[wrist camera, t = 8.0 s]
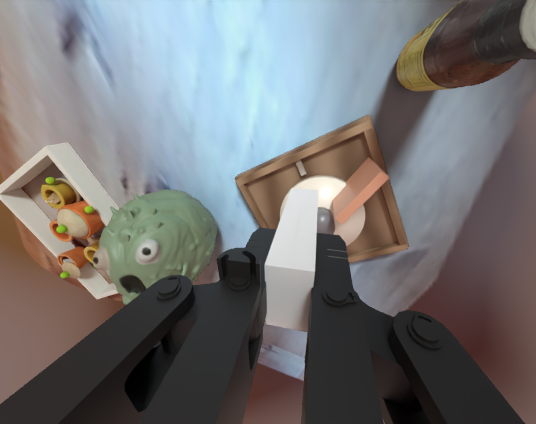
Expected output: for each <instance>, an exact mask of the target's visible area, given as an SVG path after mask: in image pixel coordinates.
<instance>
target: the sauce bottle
mask: <svg viewBox="0 0 536 424" xmlns="http://www.w3.org/2000/svg"><path fill="white" fill-rule="evenodd" d="M521 58H522V59H536V0H462V1H461V2H459V3H458V4H457V5H455V6H454V7H453V8H452V9H450V10H449V11H448V12H446V13H445V14H443V15H442V16H441V17H439V18H438V19H437V20H435V21H434V22H433V23H431V24H430V25H429V26H427V27H426V28H425V29H423V30H422V31H421V32H419V33H418V34H417V35H415V36H414V37H413V38H412V39H411V40H410V41H409V42H408V43H407V44H406V45H405V47H404V48H403V50H402V52H401V54H400V56H399V58H398V61H397V63H396V75H397V79H398V81H399V82H400V85H401V86H402V87H403V88H407V89H409V90H412V91H430V90H441V89H452V88H457V87H465V86H472V85H476V84H480V83H483V82H485V81H488V80H490V79H493V78H495V77H497V76H499V75H501V74H502V73H504V72H505V71H507V70H508V69H510V68H511V66H513V65H514V64H516V63H517V62H518V61H519V60H520V59H521Z"/></svg>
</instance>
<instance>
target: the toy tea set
mask: <svg viewBox="0 0 536 424" xmlns="http://www.w3.org/2000/svg"><path fill="white" fill-rule="evenodd" d="M46 183H47V184H49V185H42V188H41V194H42V196H43V198H44V200H45V202H47V203H48V204H49V205H50V206H52V207H54V208H56V209H59V210H58V214H57V220H54V221H51V222H50V224H49V227H50V230H51V232H52V233H53V235H54V236H55V237H56V238H58V239H59V240H61V241H63V242H70V241H72V240H73V239H74V238H75V237H77V238H80V239H86V238H87V240H88V242H90V243H92V245H90V246H88V247H86V248H84V247H76V248H73V249H71V250H69V251H66V252H64V253H62V254H59V255H58V256H57V261H58V263H59V264H60V266H61V267H62V269H63V272H62V273H61V275H60V276H61V278H67V277H68V276H69V277H71V278H80V277H81V271H80V269H81V268H82V267H83V266H85V265H86V264H87V263H88V262H89V261H90V262H91V263H93V256H94V254H95V252H96V251H97V250H98V249H99V240H100V238H101V237H98V238H93V237H91V236H92V235H93V234H94V233H96V232H97V231H98V230H99V229H101V228H102V227H103V226H104V225H105V224H104V223H103V221H102V220H101V217H100V215H99V214H98V212H97V211H96V210H95V209H94V208H93V207H92V206H90V205H88V203H87V202H86V201H85V200H84V201H81V196H80V194H79V192H78V191H77V190H76V189H75V188H74V186H73V185H72V184H71V183H70V182H69V181H68V180H66V179H63V178H57V179H55V178H53V177H48V178H46ZM65 259H71V260H72V261H73V262H74V263H71V262H63V260H65ZM93 266H94V264H93ZM94 267H95V266H94ZM95 268H96V267H95Z"/></svg>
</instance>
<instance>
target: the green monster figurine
mask: <svg viewBox="0 0 536 424" xmlns="http://www.w3.org/2000/svg"><path fill="white" fill-rule="evenodd" d="M134 198H135V200H131V201H129V202H128V203H126V204H125V205H124V206H122V208H121V209H119V210H116V209H115V208H113V207H112V206H110V209H111V211H112V213H113V215H112V217H111V220H110V222H109V223H108V225H107V226H106V227H105V228H104V230H103V231H102V234H101V238H100V240H99V249H98V250H97V251H96V252H95V254H94V256H93V264H94V266H95V267H96V268H97V269H101V270H104V271H105V272H106V273H107V274H108V276H109V278H110V280H111V281H112V282H113V283H114V284H115V286H116V290H117V292H118V293H120V294H121V295H122V296H123V303H124V304H126V305H127V304H128V303H129V302H131V301H132V300H133V299H134V298H136V297H137V296H138V295H140V294H141V293H142V292H143V291H145V290H146V289H147V288H148V287H150V286H151V285H152V284H154V283H155V282H157V281H158V280H160V279H162V278H164V277H167V276H170V275H183V276H186V277H188V278H189V279H190V280H191V282H194V281H195V280H196V279H197V277H198V276H199V274H200V273H201V272H202V271H203V270H204V269H205V267H206V266H208V265H209V261H210V259H211V257H212V255H213V252H214V250H215V243H216V235H217V225H216V222H215V220H214V218H213V216H212V214H211V213H210V212H209V210H208V209H206V208H205V207H204V206H203V205H202V203H201V202H200V201H199V200H197V199H195V198H193V197H192V196H190V195H189V194H187V193H185V192H182V191H178V190H160V191H157V192H154V193H149V194H145V195H142V196H140V197H138V196H137V195H136V194H134Z"/></svg>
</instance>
